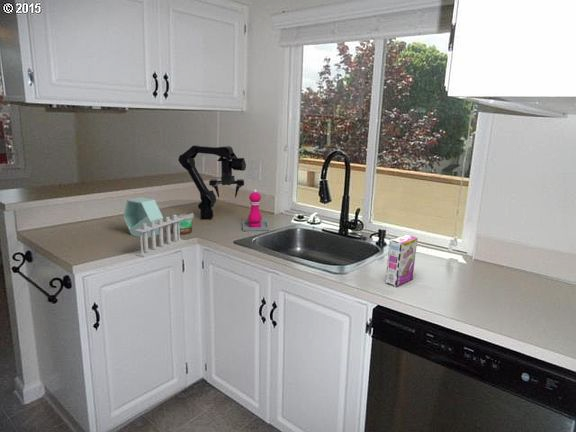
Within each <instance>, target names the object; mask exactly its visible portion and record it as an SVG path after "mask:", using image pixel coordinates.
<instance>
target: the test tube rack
mask: <svg viewBox="0 0 576 432" xmlns="http://www.w3.org/2000/svg"><path fill="white" fill-rule="evenodd" d="M172 215H173V216H172V217H173V219H170V216H165V220H164V219H163V220H164V221H163V220H162V219H158V223H157V224H155V222H154V221H151V223H150V224H151V225H150V226H147V225H146V223H143V224H142V228H140V229H137V230H134V231H136V232H139V233H140V237H139V240H140V251H139V252H138V253H135V256H136V257H140V258H146V257H148V256H151V255H153V254H156V253H158V252H161V251H164V250H167V249H169V248H171V247H174V246H177V245H180V244H182V243H184V242H186V240H185V239H182V238H181V235H180V228H179V221H181V220H184V219H182V218H177V216H176V215H177V214H172ZM172 223H173V229H172V235H173V240H171V239H172V237H171V225H172ZM177 224H178V235H177ZM158 227H159V235H158V241H159V245H157V241H156V240H157V239H156V238H157V236H156V235H155V228H158ZM164 227H165V232H166V234H165V235H166V242H164ZM149 230H151V237H150V239H151V248H149V240H148V239H149V238H148V236H147V231H149ZM142 232H143V238H142Z"/></svg>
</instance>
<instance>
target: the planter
mask: <svg viewBox="0 0 576 432" xmlns="http://www.w3.org/2000/svg"><path fill="white" fill-rule="evenodd" d="M123 212H124V213H123V220H124V222H125V224H126V226H127V229H128V231H129V234H130V235H131V236H132V235H133V237H136V236H137V238H140V233H139V232H136V231H134V230H137V229H140V228H142V224H143V223H146V225H147V226H150V225H151V224H150V223H151V221H154V222H155V224H157V223H158V219H162V220H164V217H163V214H162V212H161V210H160V207H159V206H158V204H157V201H156V200H155V199H152V198H147V197H141V196H139V197H135V198H130V199H126V203H125V208H124V211H123ZM155 235H156V237H157V236H159V227H158V228H155ZM147 236H148V239H149V238H150V239H151V230H149V231H147ZM142 239H143V232H142Z"/></svg>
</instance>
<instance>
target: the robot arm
mask: <svg viewBox="0 0 576 432" xmlns="http://www.w3.org/2000/svg"><path fill="white" fill-rule="evenodd" d="M198 154H204V155H205V154H207V155H216V156H217V157H219V158H218V159H217V162H221V163H220V164H221V165H220V166H221V168H220V169H221V171H220V172H221V173H220V174H221V178H220V179H221V180H218V179H217V178H210V179H209V181H208V183H209V186H211V187H212V188H214V190H215V192H214V190H212V189H211V190H210V189H209V188H208V187H207V185H206V183H205V181H204V180H203V178H202V176H201V175H200V173H199V171H198V170H197V168H196V162H195V161H196V160H195V158H196V157H197V156H198ZM178 162H179V164H180V166H182V168H184V169H185V170H186V171H187V172H188V174H189V176H190V177H191V180H192V181H193V183H194V185H195V187H196V188H197V190H198V192H199V194H200V195H199V198H200V202H199V204H198V205H197V207H198V209H199V210H200V218H199V219H200V220H213V218H214V209H213V207H214V205H215V204H216V202H217V197H218V198H220V191H219V185H222V186H231V185H235V192H234V194H235V195H234V198H235V199H236V198H237V195H238V192H239V190H240V188H242V187H243V186H245V180H244V179H242V178H240V179H239V178H237V179H236V180H235V175H233V171H243V172H244V171H246V168H247V162H246V160H245V158H244V157H237V155H236V153H235V152H234V149H233V148H232V146H229V145H226V146H218V147H215V146H207V145H206V146H203V145H197V144H196V145H192V146H191V147H190V148H188V150H186V151H185V152H184V153H182V154H180V155H179V157H178ZM215 193H216V194H217V195H216V194H215Z"/></svg>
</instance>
